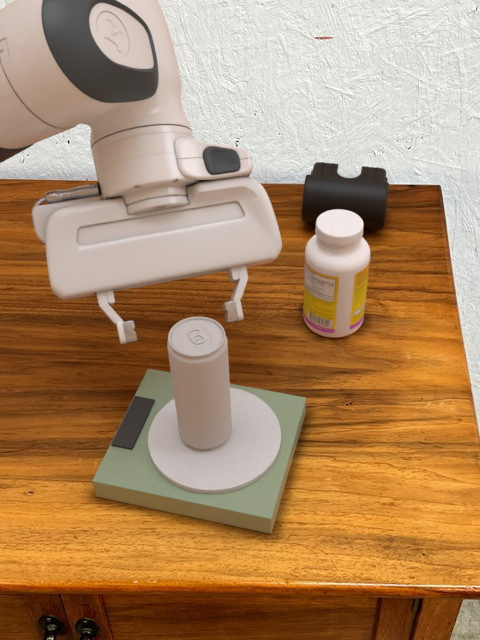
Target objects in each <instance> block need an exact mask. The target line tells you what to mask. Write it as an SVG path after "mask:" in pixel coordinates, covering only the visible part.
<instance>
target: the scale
mask: <svg viewBox="0 0 480 640" xmlns="http://www.w3.org/2000/svg"><path fill="white" fill-rule="evenodd" d="M230 399H231V418H232V431H231V433H230V436H229V437H228V438H227V440H226V441H225V442H223V443H222V444H221V445H219V446H217V447H215V448H211V449H197V448H194V447H191V446H189V445H187V444H186V443H185V442H184V441H183V440H182V438H181V437H180V434H179V428H178V420H177V413H176V406H175V400H174V393H173V386H172V379H171V371H170V372H169V371H165V370H159V369H155V368H147V370H146V371H145V373H144V376H143V378H142V380H141V382H140V383H139V386H138V388H137V390H136V392H135V394H134V395H133V398H132V399H131V402H130V404H129V406H128V408H127V409H126V412H125V413H124V416H123V418H122V419H121V421H120V423H119V426H118V428H117V429H116V432H115V434H114V436H113V438H112V440H111V442H110V444H109V446H108V448H107V450H106V452H105V454H104V456H103V458H102V460H101V462H100V464H99V466H98V468H97V470H96V471H95V474H94V476H93V478H92V482H91V483H92V485H93V489H94V493H95V496H96V497H97V498H101V499H106V500H110V501H115V502H121V503H125V504H129V505H133V506H138V507H144V508H148V509H153V510H158V511H162V512H166V513H171V514H175V515H181V516H184V517H189V518H194V519H200V520H204V521H208V522H212V523H213V522H214V523H218V524H222V525H227V526H232V527H236V528H242V529H244V530H245V529H247V530H250V531H255V532H260V533H265V534H269V535H271V534H272V533H273V530H274V527H275V523H276V519H277V516H278V513H279V509H280V505H281V502H282V498H283V495H284V491H285V488H286V484H287V480H288V478H289V473H290V470H291V468H292V467H291V466H292V463H293V460H294V456H295V452H296V450H297V446H298V442H299V438H300V435H301V432H302V428H303V425H304V424H303V423H304V422H305V418H306V413H307V397H305V396H299V395H295V394H294V395H293V394H289V393H284V392H278V391H273V390H267V389H263V388H257V387H252V386H245V385H240V384H235V383H230Z"/></svg>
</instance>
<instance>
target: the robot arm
mask: <svg viewBox="0 0 480 640" xmlns="http://www.w3.org/2000/svg"><path fill="white" fill-rule="evenodd" d="M182 89H183V82H182V76H181V72H180V66H179V63H178V57H177V55H176V50H175V46H174V43H173V39H172V36H171V33H170V30H169V26H168V23H167V21H166V18H165V15H164V12H163V9H162V8H161V6H160V3H159V0H12V1H10V2H9V3H7V4H6V5H5V6H4V7H3V8H0V164H1V163H3V162H6V161H7V160H9V159H10V158H13V157H15V156H16V155H18V154H20V153H21V152H22V153H23V151H25V150H28V149H29V148H30V147H32V146H34V145H35V144H37V143H39V142H41V141H44V140H46V139H49V138H51V137H54V136H56V135H59V134H61V133H64V132H67V131H69V130H72V129H74V128H75V127H77V126H78V125H86V126H88V127H90V136H89V137H90V139H89V141H90V143H89V145H90V150H91V155H92V159H93V160H92V161H93V164H94V169H95V173H96V178H97V182H95V183H90V184H84V185H79V186H78V185H77V186H75V187H71V188H67V189H60V188H59V189H58V188H57V189H51V190H49V191H45V195H44V196H42V197H40V198H38V199H37V200H36V201H35V202H34V204H33V206H32V208H31V213H30V214H31V221H32V226H33V230H34V234H35V235H36V238H37V239H38V240H39V241H40V242H41V243H42V244H44V246H45V256H46V267H47V273H48V279H49V285H50V289H51V292H52V293H53V294H54V296H56V297H57V298H58V299H61V301H71V300H77V299H83V298H88V297H93V296H96V299H97V303H98V308H99V309H100V311H102V313H103V314H105V316H106V317H107V318H108V319H109V320H110V321H111V322H112V324H113V325H115V326H116V330H117V335H118V340H119V344H120V345H123V344H128V343H129V344H130V343H133V342H137V341H138V336H137V332H136V331H135V328H136V326H135V321H134V319H133V320H126V321H124V319H123V318H122V317H121V316H120V315H119V314H118V313H117V312H116V311H115V309H113V307H112V306H114V305H115V304H116V300H115V293H116V292H119V291H126V290H131V289H135V288H141V287H147V286H153V285H158V284H163V283H169V282H174V281H179V280H185V279H189V278H190V279H191V278H196V277H201V276H207V275H212V274H217V273H218V274H219V273H222V272H226V274H227V278H228V282H229V283H230V284H231V283H232V284H233V283H235V284H234V287H233V290H232V293H231V297H230V300H229V301H226V302H223V303H221V304H220V305H221V310H222V312H223V313H224V315H223V320H224V323H225V324H228V323H235V322H240V321H242V320H243V321H244V318H245V317H244V312H243V306H242V301H241V300H242V298H243V296H244V293H245V289H246V287H247V284H248V281H249V273H248V269H247V268H250V267H254V266H261V265H266V264H269V263H272V262H275V260H277V259H278V257H279V255H280V254H281V251H282V249H283V241H282V235H281V232H280V227H279V224H278V220H277V217H276V214H275V211H274V208H273V205H272V202H271V200H270V199H271V198H270V197H269V195H268V192H267V190H266V189H265V187H264V185H262V183H260V182H259V181H258V180H256V179H255V178H253V177H250V176H251V174H252V171H253V169H254V161H253V157H252V154H251V152H250V150H248V149H245V148H242V147H238V146H232V145H225V144H218V143H215V142H214V143H213V142H208V141H203V140H197V139H195V138H194V134H193V130H192V126H191V124H190V121H189V120H188V118H187V116H186V114H185V111H184V108H183V103H182V102H183V101H182V91H183V90H182ZM45 202H47V203H46V204H44V203H45ZM114 292H115V293H114Z"/></svg>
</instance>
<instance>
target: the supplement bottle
mask: <svg viewBox="0 0 480 640" xmlns="http://www.w3.org/2000/svg"><path fill="white" fill-rule="evenodd" d="M363 226H364V225H363V220H362V219H361V217H360V216H358V215H357V214H355V213H354V212H351V211H348V210H342V209H334V210H329V211H326V212H324V213H322V214H321V215H319V217H318V218H317V220H316V224H315V229H314V232H315V234H314V235H312V236H311V238H309V240H308V241H307V243H306V245H305V248H304V271H303V272H304V275H303V298H302V299H303V301H302V303H303V304H302V305H303V306H302V313H303V315H302V317H303V320H304V323H305V325H306V326H307V327H308V328H309V329H310V330H311V331H312V332H313V333H315V334H317V335H318V336H322V337H325V338H336V339H337V338H344V337H347V336H350V335H352V334H354V333H355V332H357V331H358V330H359V329H360V327H361V326H362V325H363V323H364V319H365V318H364V317H365V312H366V311H365V309H366V300H367V291H368V283H369V282H368V281H369V273H370V263H371V248H370V245H369V243H368V242H367V240H366V239H365V237H363V235H364V229H363Z"/></svg>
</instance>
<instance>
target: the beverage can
mask: <svg viewBox="0 0 480 640" xmlns="http://www.w3.org/2000/svg"><path fill="white" fill-rule="evenodd" d="M226 334H227V333H226V331H225V328H224V326H222V324H221V323H220V322H218V321H217V320H216V319H213V318H210V317H205V316H190V317H187V318H183V319H181V320H179V321H178V322H176V323H174V325H173V326H172V327H171V328H170V330H169V332H168V334H167V335H168V336H167V356H168V361H169V362H168V363H169V370H170V372H171V379H172V386H173V393H174V400H175V406H176V413H177V420H178V428H179V434H180V437H181V438H182V440H183V441H184V442H185V443H186V444H187V445H189V446H191V447H194V448H197V449H211V448H215V447H217V446H219V445H221V444H222V443H223V442H225V441H226V440H227V438H228V437H229V436H230V433H231V431H232V418H231V399H230V384H231V382H230V362H229V361H230V359H229V346H228V345H229V343H228V336H226Z"/></svg>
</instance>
